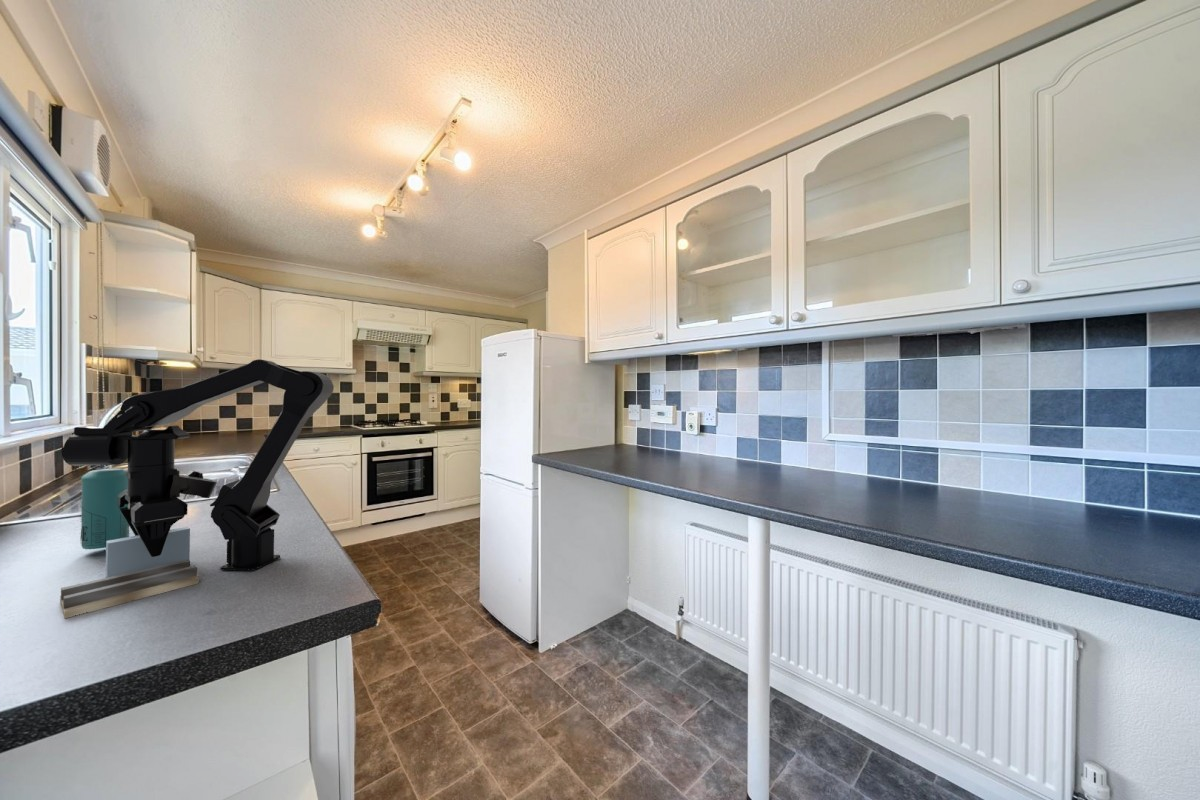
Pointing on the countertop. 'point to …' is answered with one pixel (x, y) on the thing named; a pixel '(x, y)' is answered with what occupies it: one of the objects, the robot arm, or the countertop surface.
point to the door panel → (145, 552)
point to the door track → (126, 587)
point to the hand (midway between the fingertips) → (150, 550)
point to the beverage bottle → (102, 508)
